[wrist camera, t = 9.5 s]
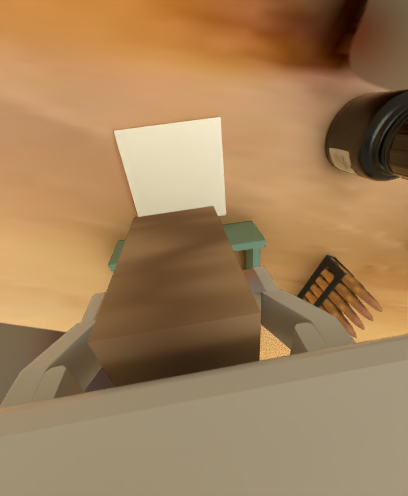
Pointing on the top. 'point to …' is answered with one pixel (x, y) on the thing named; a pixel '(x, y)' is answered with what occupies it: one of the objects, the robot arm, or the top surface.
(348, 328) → the ammunition clip
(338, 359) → the robot arm
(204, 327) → the walnut block
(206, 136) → the board
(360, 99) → the ink bottle
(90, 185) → the top surface
